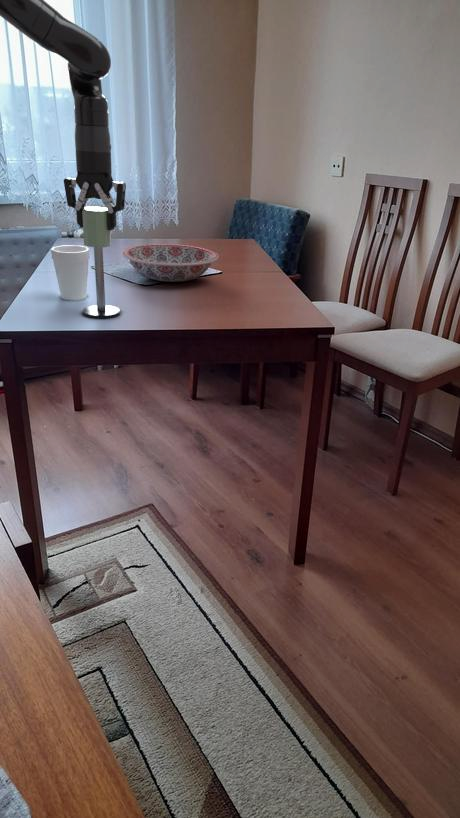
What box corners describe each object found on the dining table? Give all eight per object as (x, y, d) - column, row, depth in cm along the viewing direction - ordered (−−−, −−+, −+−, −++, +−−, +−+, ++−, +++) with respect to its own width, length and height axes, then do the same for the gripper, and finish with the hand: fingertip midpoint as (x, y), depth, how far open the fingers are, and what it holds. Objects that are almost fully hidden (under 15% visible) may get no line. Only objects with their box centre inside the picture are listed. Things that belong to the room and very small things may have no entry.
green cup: (105, 248, 127) (104, 211, 123) (79, 245, 127) (77, 209, 124) (114, 243, 132) (113, 208, 128) (89, 241, 133) (87, 206, 129)
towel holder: (112, 322, 133) (108, 236, 124) (77, 318, 134) (70, 233, 125) (125, 311, 141) (122, 230, 132) (91, 307, 142) (86, 227, 133)
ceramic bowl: (227, 291, 163) (228, 264, 159) (127, 292, 156) (126, 264, 152) (206, 268, 188) (207, 244, 184) (119, 268, 181) (118, 243, 177)
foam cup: (79, 305, 143) (75, 254, 137) (48, 300, 146) (43, 250, 140) (98, 296, 151) (95, 247, 145) (69, 291, 154) (65, 243, 148)
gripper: (54, 147, 118) (60, 228, 125) (119, 151, 116) (121, 234, 124) (69, 146, 125) (74, 223, 132) (130, 150, 123) (132, 229, 130)
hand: (96, 228), depth 128 cm, fingers closed on green cup, 6 cm apart
